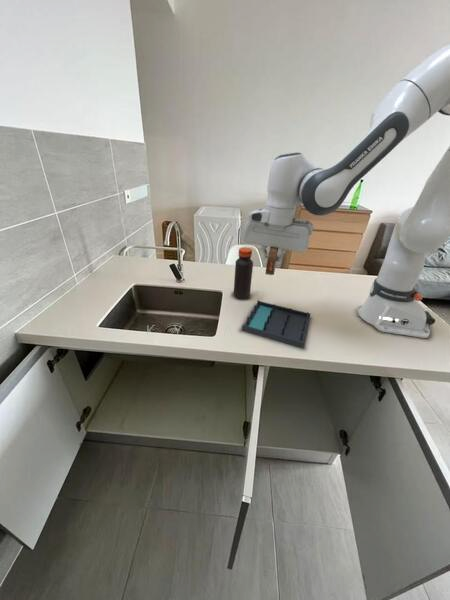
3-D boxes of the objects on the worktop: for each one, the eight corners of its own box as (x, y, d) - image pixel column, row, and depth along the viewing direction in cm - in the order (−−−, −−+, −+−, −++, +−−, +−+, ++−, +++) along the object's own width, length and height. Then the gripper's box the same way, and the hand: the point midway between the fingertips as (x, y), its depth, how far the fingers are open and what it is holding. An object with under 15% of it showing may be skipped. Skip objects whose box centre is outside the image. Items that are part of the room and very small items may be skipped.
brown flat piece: (269, 261, 88) (271, 238, 84) (278, 262, 87) (280, 239, 83) (264, 279, 75) (266, 252, 71) (274, 279, 75) (277, 253, 70)
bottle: (237, 290, 105) (240, 245, 95) (252, 294, 103) (257, 248, 92) (230, 297, 100) (233, 250, 89) (246, 301, 97) (250, 253, 87)
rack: (309, 317, 89) (311, 309, 87) (302, 348, 75) (305, 338, 73) (257, 304, 95) (258, 296, 93) (241, 330, 81) (242, 321, 79)
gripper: (316, 218, 71) (305, 262, 78) (250, 210, 78) (246, 251, 85) (313, 223, 66) (303, 269, 73) (243, 213, 73) (239, 257, 80)
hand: (272, 259), depth 79 cm, fingers closed on brown flat piece, 3 cm apart
